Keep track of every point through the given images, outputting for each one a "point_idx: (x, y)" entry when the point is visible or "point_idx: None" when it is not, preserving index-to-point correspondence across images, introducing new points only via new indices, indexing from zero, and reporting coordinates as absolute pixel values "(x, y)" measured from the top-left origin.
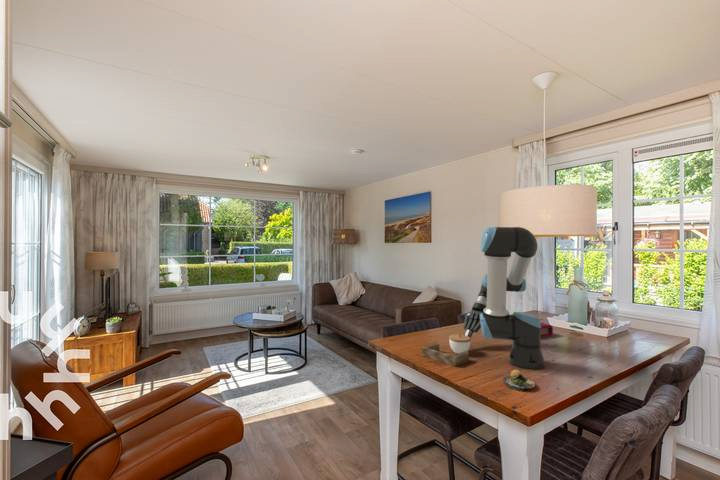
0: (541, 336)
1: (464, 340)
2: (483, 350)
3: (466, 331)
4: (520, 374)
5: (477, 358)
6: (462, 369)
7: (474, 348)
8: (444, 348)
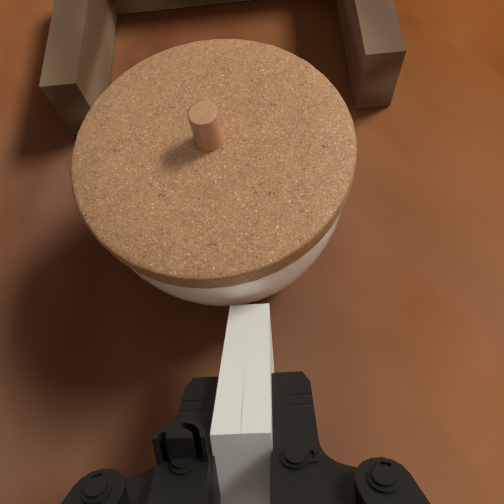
0: None
1: (100, 95)
2: None
3: (267, 398)
4: None
5: (41, 223)
6: (39, 2)
7: None
8: (395, 202)
